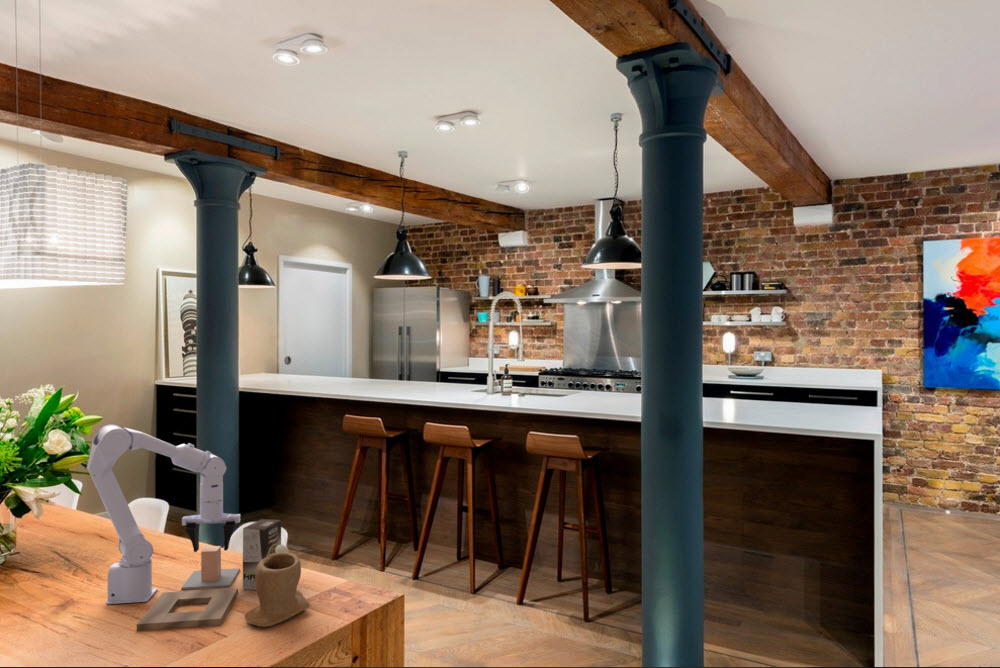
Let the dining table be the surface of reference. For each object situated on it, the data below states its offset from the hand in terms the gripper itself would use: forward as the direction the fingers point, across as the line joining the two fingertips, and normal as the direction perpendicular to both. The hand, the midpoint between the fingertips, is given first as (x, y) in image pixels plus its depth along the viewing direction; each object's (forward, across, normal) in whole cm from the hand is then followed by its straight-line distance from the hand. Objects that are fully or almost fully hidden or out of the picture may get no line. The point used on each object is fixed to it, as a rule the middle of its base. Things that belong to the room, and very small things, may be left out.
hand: (211, 550), depth 181 cm
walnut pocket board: (+8, 0, -20) cm, 22 cm away
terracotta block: (+8, 0, 0) cm, 8 cm away
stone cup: (+8, +22, -27) cm, 36 cm away
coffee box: (+8, +14, -5) cm, 17 cm away
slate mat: (+8, 0, 0) cm, 8 cm away
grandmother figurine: (+8, +20, -13) cm, 25 cm away
